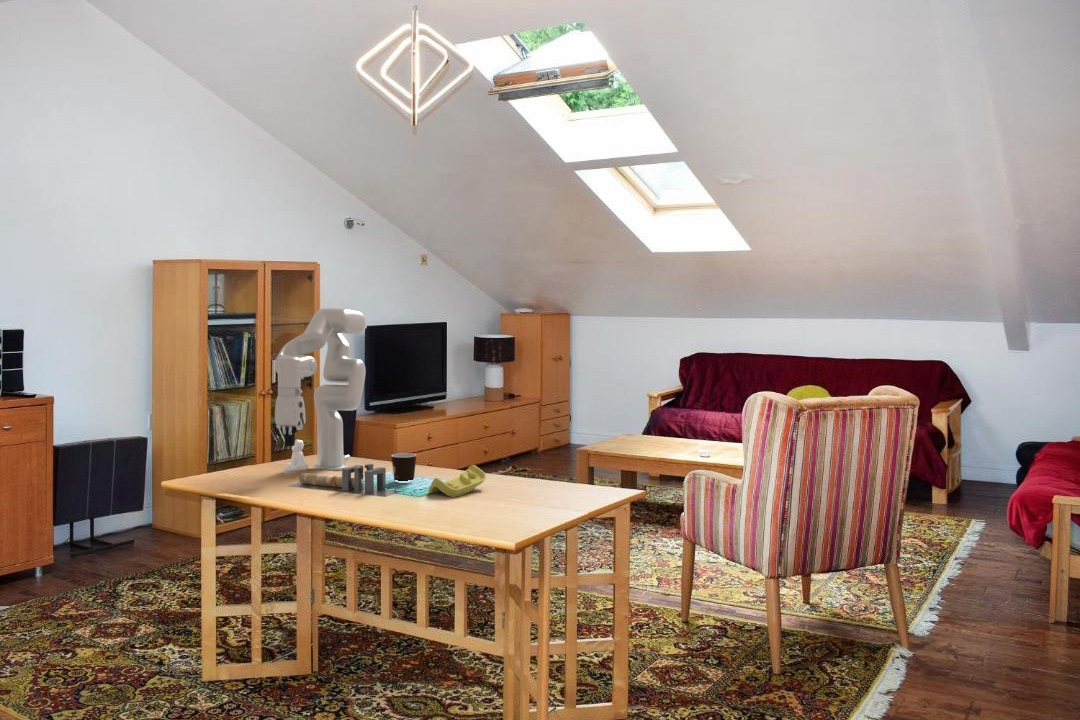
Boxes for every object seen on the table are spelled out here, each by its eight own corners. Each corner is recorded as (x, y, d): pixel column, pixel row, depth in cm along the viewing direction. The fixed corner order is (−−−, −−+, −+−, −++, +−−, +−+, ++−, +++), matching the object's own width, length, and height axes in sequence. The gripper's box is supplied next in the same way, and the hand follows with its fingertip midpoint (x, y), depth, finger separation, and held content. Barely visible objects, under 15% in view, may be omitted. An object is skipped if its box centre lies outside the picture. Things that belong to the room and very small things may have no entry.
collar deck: (309, 482, 336) (308, 457, 335) (406, 492, 319) (405, 466, 318) (286, 488, 325) (285, 462, 324) (385, 499, 308) (385, 472, 307)
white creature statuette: (285, 469, 361) (284, 437, 360) (309, 468, 362) (308, 437, 362) (283, 473, 351) (282, 441, 351) (307, 473, 353) (307, 440, 352)
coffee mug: (414, 486, 328) (414, 457, 328) (389, 486, 329) (389, 457, 328) (419, 480, 340) (419, 452, 339) (395, 479, 340) (395, 451, 339)
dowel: (299, 484, 328) (298, 474, 327) (306, 482, 331) (305, 472, 331) (357, 490, 318) (356, 479, 317) (363, 488, 321) (363, 477, 320)
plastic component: (454, 491, 309) (432, 475, 314) (448, 510, 312) (426, 493, 317) (491, 477, 326) (470, 462, 330) (485, 495, 328) (464, 479, 333)
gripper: (313, 392, 330) (314, 446, 330) (279, 391, 336) (279, 443, 337) (299, 394, 323) (300, 448, 324) (264, 392, 329) (265, 445, 330)
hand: (289, 445), depth 330 cm, fingers closed
